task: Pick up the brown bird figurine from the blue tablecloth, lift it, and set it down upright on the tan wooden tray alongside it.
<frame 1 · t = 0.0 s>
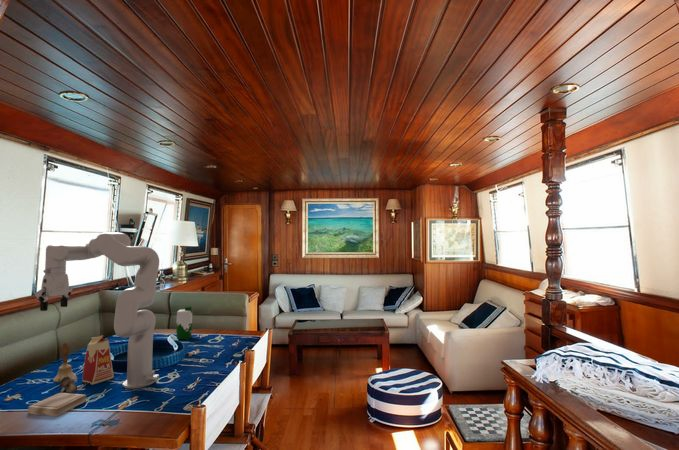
hand: (54, 308, 163), 31 cm above the table, tool pointing down, fingers open, 9 cm apart
milk carton: (97, 380, 159), on the table
brown bird figurine: (67, 392, 146), on the table
soya milk: (184, 338, 227), on the table
tan wooden tray: (58, 407, 132), on the table
hand bell: (64, 378, 160), on the table
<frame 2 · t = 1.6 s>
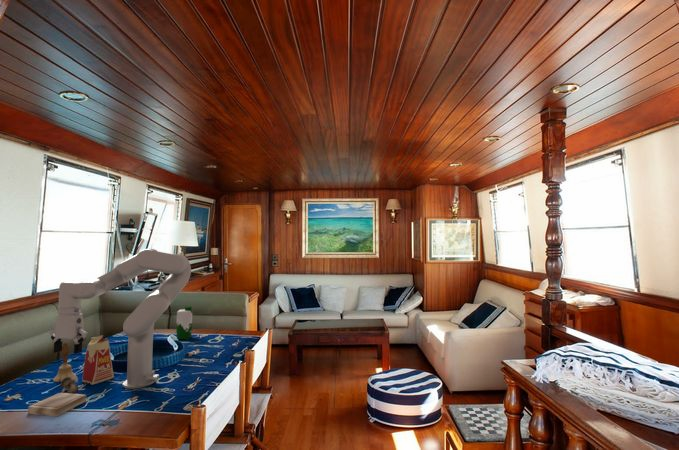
hand: (67, 352, 147), 16 cm above the table, tool pointing down, fingers open, 9 cm apart
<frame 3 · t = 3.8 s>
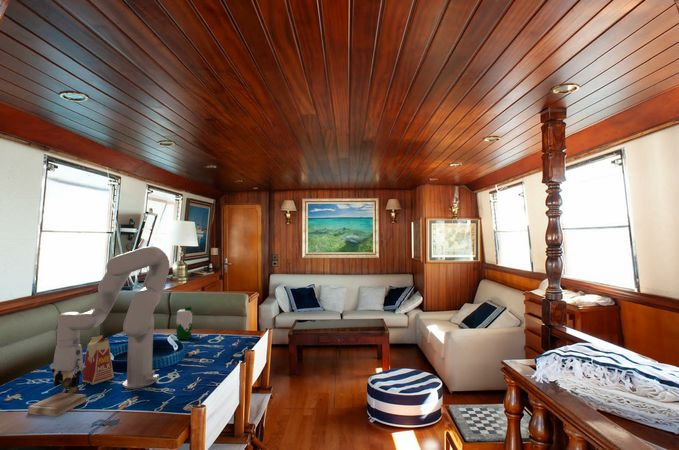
hand: (66, 385, 146), 2 cm above the table, tool pointing down, fingers closed on brown bird figurine, 7 cm apart
brown bird figurine: (68, 393, 145), on the table, touching gripper
everything else where it was.
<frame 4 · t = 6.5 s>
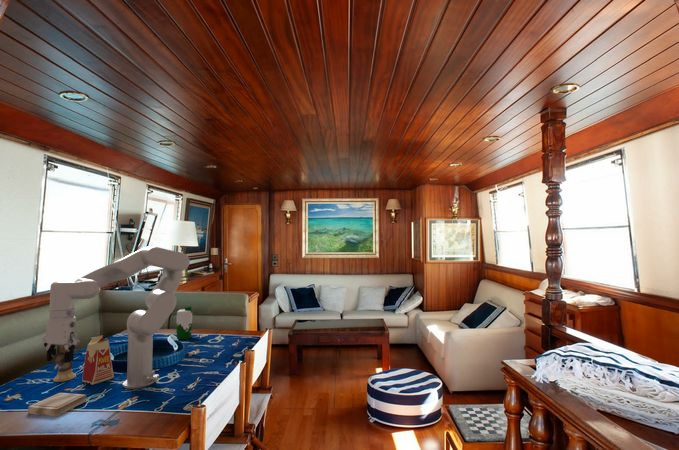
hand: (59, 360, 134), 17 cm above the table, tool pointing down, fingers closed on brown bird figurine, 7 cm apart
brown bird figurine: (61, 369, 132), point 14 cm above the table, touching gripper
everything else where it was.
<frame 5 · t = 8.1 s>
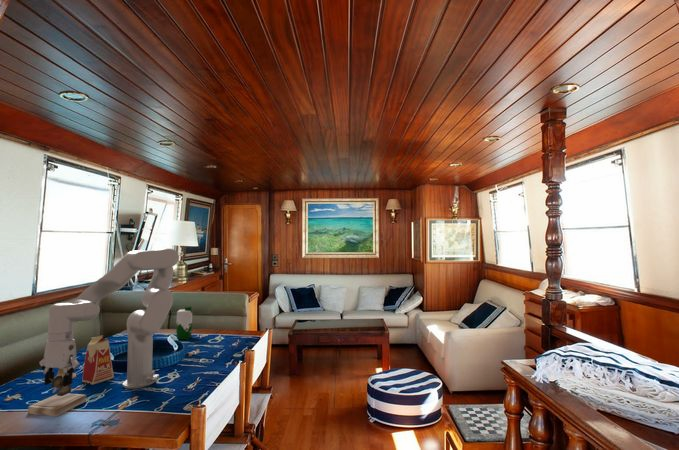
hand: (58, 384, 132), 9 cm above the table, tool pointing down, fingers closed on brown bird figurine, 7 cm apart
brown bird figurine: (59, 392, 131), point 6 cm above the table, touching gripper
everything else where it was.
when the fingers open (6 cm above the table, at t = 9.2 s): brown bird figurine stays where it is, resting on tan wooden tray.
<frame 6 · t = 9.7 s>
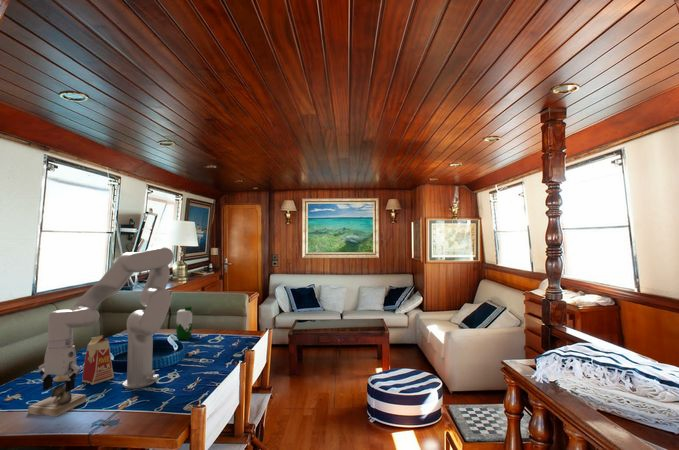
hand: (58, 389, 132), 7 cm above the table, tool pointing down, fingers open, 9 cm apart
brown bird figurine: (60, 401, 131), point 2 cm above the table, touching tan wooden tray
everything else where it was.
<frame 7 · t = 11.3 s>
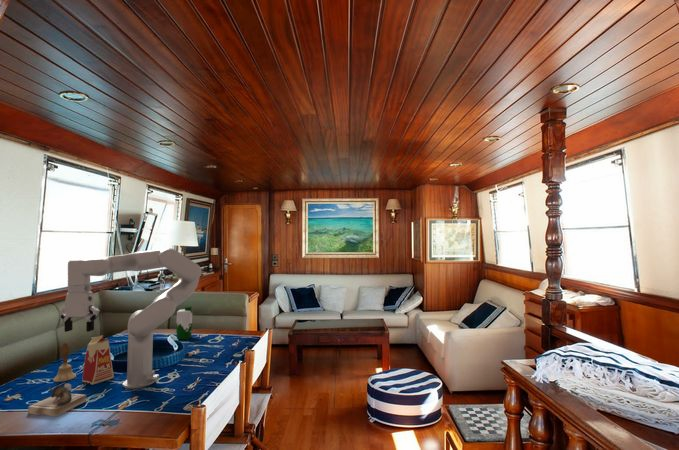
hand: (79, 330, 145), 25 cm above the table, tool pointing down, fingers open, 9 cm apart
nothing on the table moved.
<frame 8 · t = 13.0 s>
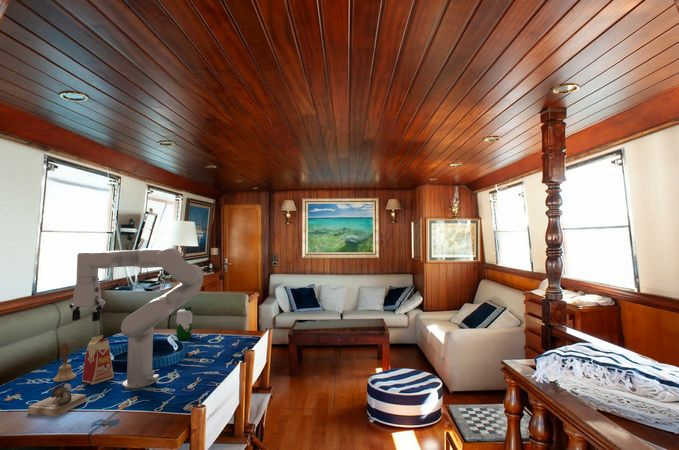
hand: (86, 320, 151), 28 cm above the table, tool pointing down, fingers open, 9 cm apart
nothing on the table moved.
at the end: brown bird figurine inside the target area on the tan wooden tray (2.2 cm from its centre), point 2.5 cm above the tan wooden tray's base; brown bird figurine tilted 2°; the gripper is holding nothing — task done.
